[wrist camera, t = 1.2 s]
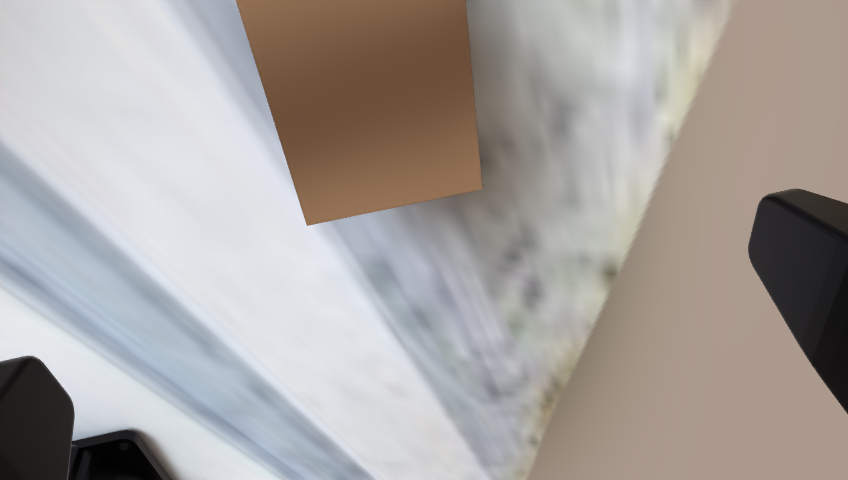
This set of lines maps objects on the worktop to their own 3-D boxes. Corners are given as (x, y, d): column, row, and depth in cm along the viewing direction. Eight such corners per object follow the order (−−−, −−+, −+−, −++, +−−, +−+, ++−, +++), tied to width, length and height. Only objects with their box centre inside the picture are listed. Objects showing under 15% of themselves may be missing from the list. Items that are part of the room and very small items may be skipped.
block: (437, 92, 18) (482, 188, 14) (304, 118, 18) (306, 225, 13) (413, -97, 15) (461, -49, 11) (252, -67, 15) (234, -6, 10)
